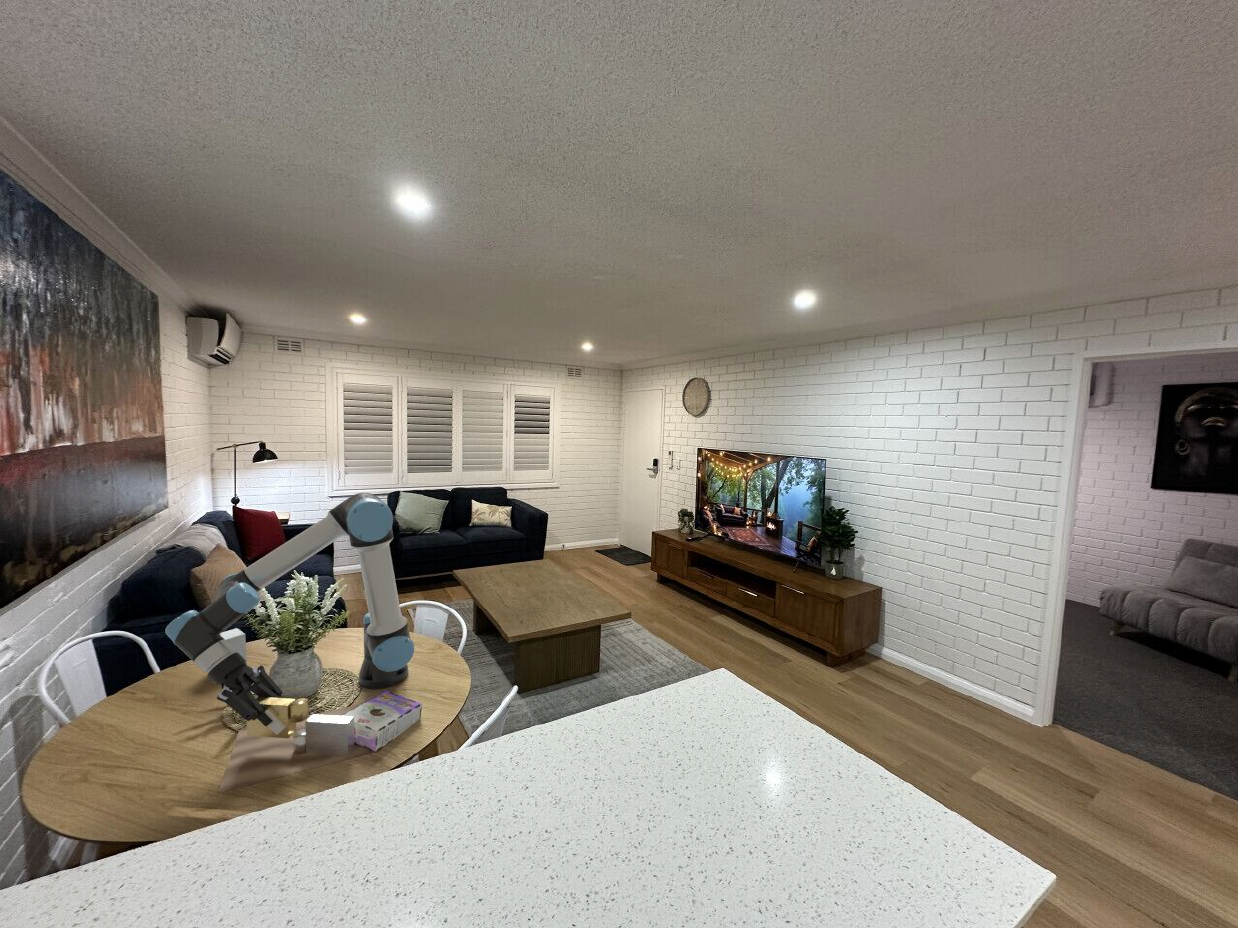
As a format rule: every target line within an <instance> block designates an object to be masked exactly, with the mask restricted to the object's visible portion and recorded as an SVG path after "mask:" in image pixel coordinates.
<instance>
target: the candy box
mask: <svg viewBox="0 0 1238 928" xmlns="http://www.w3.org/2000/svg"><path fill="white" fill-rule="evenodd" d="M361 704H362V705H360V706H358V707H356V708H354V709H352V710H351V711H349V712H347V713H345V714H344V715H342V716H352V717H354V743H356V744H359V745H361V746H364V747H366V748H368V749H371V750H372V752H373V751H374V752H377V751H379V750H380V749H382V748H383V747H384V746H386V745H388V744H389V743H390V742H392V741H393V740H394V739H396V738H398V736H400V735H401V734H403V732H405V731H406V730H408V729H409V728H410V727H411V726H413V725H414V724H415V723H417V722H418V721H419V720H420V719H421V717H422V709H423V704H422V703H420V702H419V701H414V700H413V699H409V698H407V697H405V696H402V695H398V694H396V693H393V692H390V691H388V690H385V691H383V692H381V693H379V694H378V695H376V696H374V697H372V698H371V699H368V700H367V701H365V702H363V703H361Z"/></svg>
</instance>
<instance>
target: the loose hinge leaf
mask: <svg viewBox="0 0 1238 928" xmlns="http://www.w3.org/2000/svg"><path fill="white" fill-rule="evenodd" d="M254 697H255V698H256V700H257V701H258V702H259V704H260V705H261V706H262V708H263V709H264V712H265V711H266V710H267V709H268V710H269V711H270V712H271V713H272V714H273V715H274V716H275V717H276V718H277V719H278V720H279V721H281V722H282V723H283V724H284V725H285V726H286V727H285V728H284V729H283V730H282V731H281V732H280V733H279V734H278V735H276V734H275V733H274V732H273V731H272V730H271V729H270V728H269V727H268V726H267V727H266V726H264V725H263V724H262V723H261V722H260V721H259V720H258V719H256V720H252V719H251V720H250V721H247V720H246V719H245V720H246V722H245V723H246V729H247V736H258V737H274V738H290V737H291V736H292V735H293V734H294V733H295V732H296V723H298V722H302V721H304V720H306V719H307V718H308V716H309V715H310V714H309V699H308V698H304V697H303V698H302V697H300V698H298V699H296V698H287V697H283V698H282V697H281V698H271V697H258V696H254ZM256 711H257V710H256ZM249 715H250V714H249Z"/></svg>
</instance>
